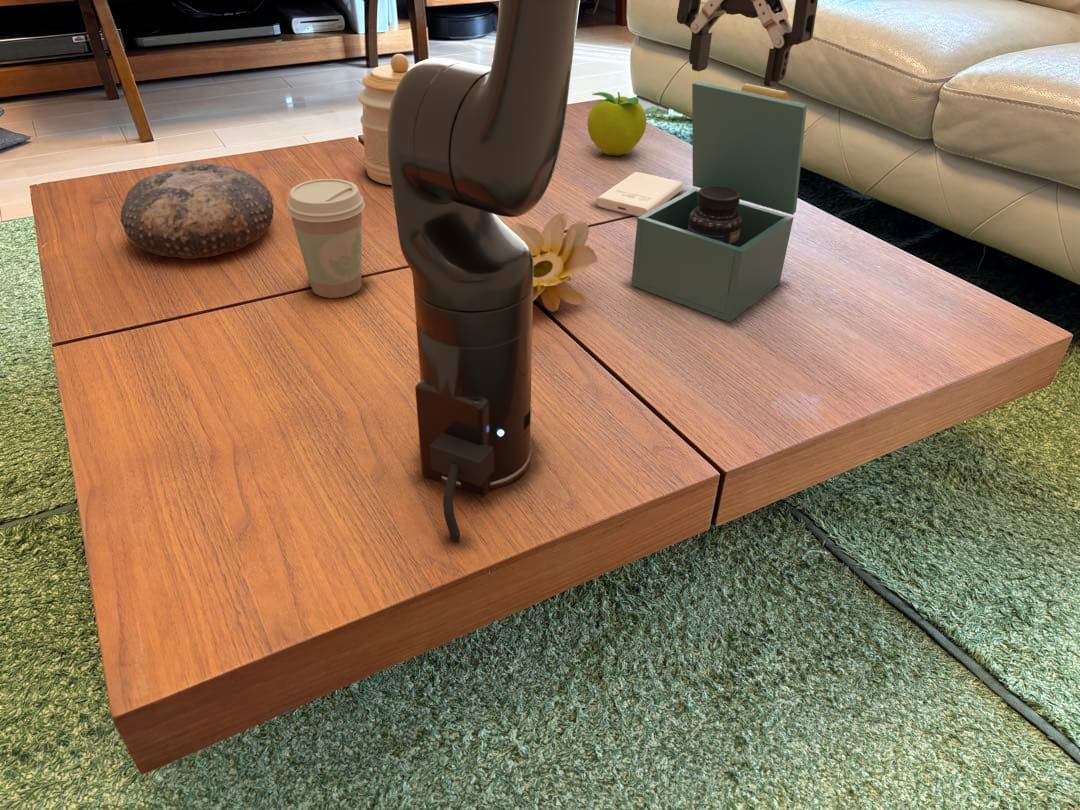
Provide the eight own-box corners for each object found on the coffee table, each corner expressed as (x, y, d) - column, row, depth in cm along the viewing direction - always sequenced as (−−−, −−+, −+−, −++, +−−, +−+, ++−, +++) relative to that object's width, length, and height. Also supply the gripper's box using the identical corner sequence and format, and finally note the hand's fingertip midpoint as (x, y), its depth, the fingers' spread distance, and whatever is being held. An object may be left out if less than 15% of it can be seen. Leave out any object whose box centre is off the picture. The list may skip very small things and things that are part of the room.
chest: (729, 322, 95) (742, 251, 90) (630, 285, 102) (637, 217, 97) (779, 284, 103) (793, 217, 98) (684, 252, 110) (693, 187, 105)
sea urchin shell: (112, 271, 100) (90, 187, 96) (147, 234, 117) (129, 161, 113) (272, 257, 103) (258, 175, 99) (284, 223, 120) (272, 152, 116)
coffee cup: (316, 310, 95) (300, 211, 88) (290, 281, 101) (273, 185, 94) (385, 292, 99) (375, 195, 92) (356, 264, 105) (344, 171, 98)
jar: (354, 165, 133) (342, 48, 123) (430, 154, 138) (424, 40, 128) (382, 193, 124) (370, 69, 114) (462, 180, 129) (458, 60, 119)
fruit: (615, 166, 135) (620, 103, 130) (576, 151, 141) (579, 90, 135) (653, 155, 140) (660, 94, 134) (614, 140, 146) (618, 81, 140)
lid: (803, 107, 88) (826, 85, 90) (692, 83, 94) (715, 63, 97) (792, 215, 97) (813, 192, 100) (692, 186, 104) (714, 165, 107)
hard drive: (681, 192, 127) (646, 219, 118) (633, 181, 130) (596, 206, 122) (683, 181, 126) (648, 208, 117) (634, 170, 129) (596, 195, 121)
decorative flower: (452, 262, 102) (470, 184, 96) (531, 264, 108) (552, 191, 102) (503, 326, 92) (527, 243, 86) (588, 325, 97) (614, 247, 92)
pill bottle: (731, 293, 99) (746, 205, 92) (679, 287, 100) (691, 199, 93) (732, 270, 104) (746, 185, 97) (682, 265, 105) (694, 180, 98)
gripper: (676, -106, 80) (658, 71, 89) (816, -94, 73) (780, 97, 82) (715, -109, 85) (694, 60, 94) (850, -98, 77) (812, 83, 87)
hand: (734, 77), depth 88 cm, fingers open, 8 cm apart
